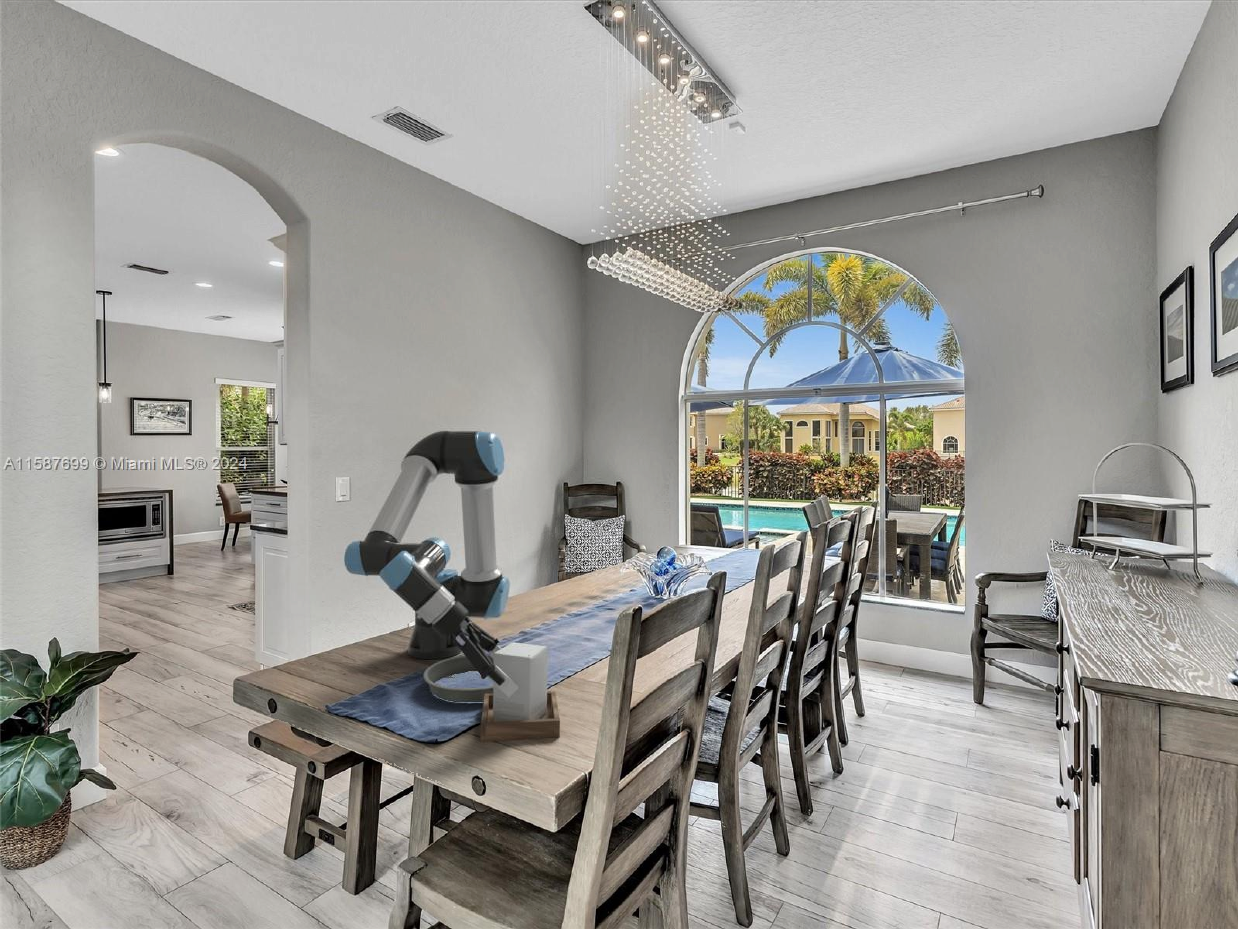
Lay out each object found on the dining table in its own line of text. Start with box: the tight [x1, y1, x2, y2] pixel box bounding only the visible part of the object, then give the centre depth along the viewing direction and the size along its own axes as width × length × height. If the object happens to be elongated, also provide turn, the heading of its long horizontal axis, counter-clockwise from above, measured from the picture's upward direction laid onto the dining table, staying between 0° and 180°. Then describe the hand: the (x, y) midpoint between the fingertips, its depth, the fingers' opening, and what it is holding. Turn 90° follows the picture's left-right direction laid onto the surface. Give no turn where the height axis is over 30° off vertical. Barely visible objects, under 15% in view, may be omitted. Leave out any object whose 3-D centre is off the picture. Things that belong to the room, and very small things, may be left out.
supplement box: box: [493, 641, 549, 722], centre depth 138 cm, size 9×9×15 cm
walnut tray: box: [480, 690, 561, 742], centre depth 138 cm, size 16×16×4 cm
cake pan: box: [422, 654, 494, 702], centre depth 158 cm, size 25×25×4 cm
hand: (513, 680), depth 137 cm, fingers open, 13 cm apart
